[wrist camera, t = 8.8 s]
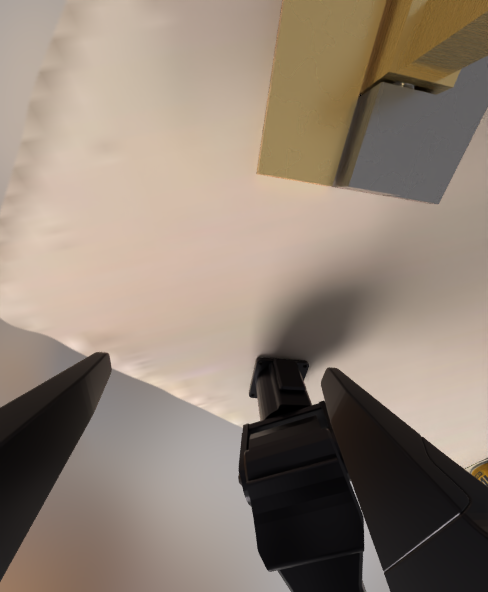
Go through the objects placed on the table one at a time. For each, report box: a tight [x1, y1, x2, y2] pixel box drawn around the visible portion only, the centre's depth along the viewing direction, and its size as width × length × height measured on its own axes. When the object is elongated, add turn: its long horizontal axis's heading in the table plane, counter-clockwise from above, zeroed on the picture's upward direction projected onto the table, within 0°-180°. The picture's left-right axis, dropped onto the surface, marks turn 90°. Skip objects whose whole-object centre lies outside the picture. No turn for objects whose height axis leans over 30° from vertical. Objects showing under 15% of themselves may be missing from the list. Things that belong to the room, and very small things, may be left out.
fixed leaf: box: [332, 56, 488, 204], centre depth 14 cm, size 15×9×3 cm, turn 172°
